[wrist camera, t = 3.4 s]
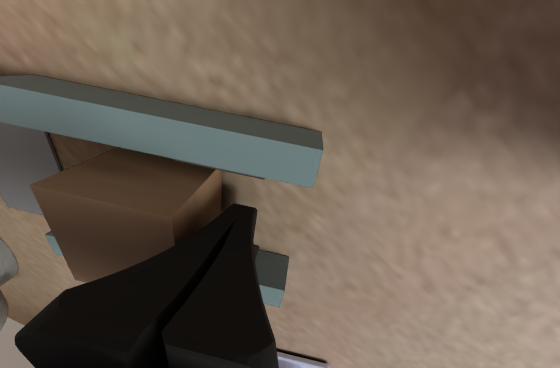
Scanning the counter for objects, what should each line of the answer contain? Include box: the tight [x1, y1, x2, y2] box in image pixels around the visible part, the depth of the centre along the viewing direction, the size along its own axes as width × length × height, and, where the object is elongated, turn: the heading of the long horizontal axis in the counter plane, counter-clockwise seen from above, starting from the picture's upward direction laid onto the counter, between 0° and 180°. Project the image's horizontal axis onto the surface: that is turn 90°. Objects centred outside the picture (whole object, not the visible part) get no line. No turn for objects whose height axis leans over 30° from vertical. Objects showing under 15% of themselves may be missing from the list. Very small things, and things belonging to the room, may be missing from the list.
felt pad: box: [0, 122, 62, 215], centre depth 13 cm, size 9×5×1 cm, turn 171°
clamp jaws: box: [0, 75, 323, 308], centre depth 12 cm, size 10×14×2 cm
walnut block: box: [29, 147, 222, 283], centre depth 10 cm, size 5×5×4 cm
